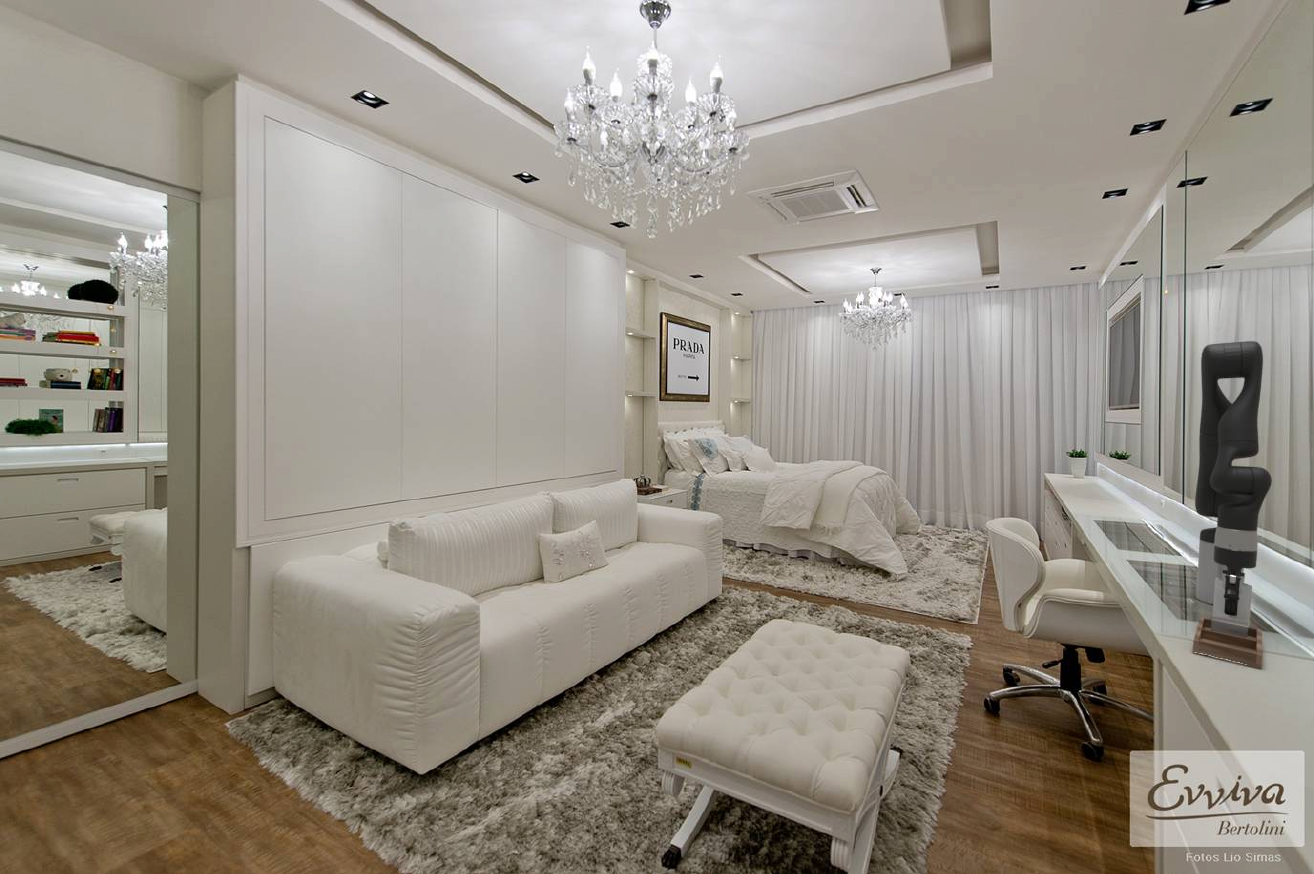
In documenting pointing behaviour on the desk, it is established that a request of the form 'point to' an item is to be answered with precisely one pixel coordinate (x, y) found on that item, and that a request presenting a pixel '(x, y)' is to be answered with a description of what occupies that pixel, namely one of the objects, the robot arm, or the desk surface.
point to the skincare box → (1243, 602)
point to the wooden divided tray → (1229, 640)
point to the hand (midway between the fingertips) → (1230, 610)
